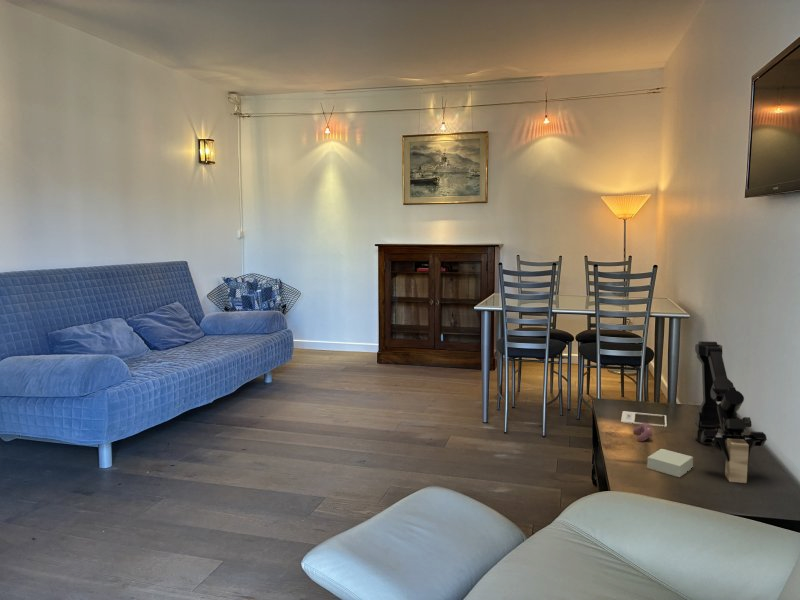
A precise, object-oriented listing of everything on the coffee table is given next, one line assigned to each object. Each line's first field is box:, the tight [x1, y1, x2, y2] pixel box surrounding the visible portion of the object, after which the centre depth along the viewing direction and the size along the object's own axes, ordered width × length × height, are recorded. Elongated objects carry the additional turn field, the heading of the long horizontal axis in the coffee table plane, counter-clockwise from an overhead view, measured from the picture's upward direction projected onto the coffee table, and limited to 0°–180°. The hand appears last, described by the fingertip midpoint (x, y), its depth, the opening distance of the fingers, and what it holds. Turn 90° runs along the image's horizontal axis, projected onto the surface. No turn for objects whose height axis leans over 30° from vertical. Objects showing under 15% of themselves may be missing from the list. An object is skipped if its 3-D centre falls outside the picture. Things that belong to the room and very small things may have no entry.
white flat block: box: [646, 448, 694, 478], centre depth 200 cm, size 11×11×4 cm
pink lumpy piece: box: [632, 422, 654, 442], centre depth 229 cm, size 10×5×7 cm, turn 169°
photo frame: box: [620, 410, 668, 428], centre depth 250 cm, size 15×1×18 cm
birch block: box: [724, 438, 749, 484], centre depth 189 cm, size 5×5×13 cm
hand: (737, 461), depth 187 cm, fingers closed on birch block, 5 cm apart
